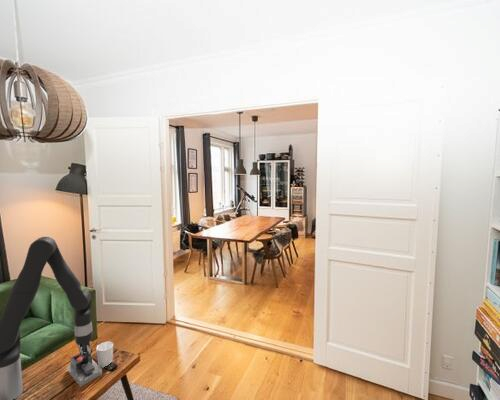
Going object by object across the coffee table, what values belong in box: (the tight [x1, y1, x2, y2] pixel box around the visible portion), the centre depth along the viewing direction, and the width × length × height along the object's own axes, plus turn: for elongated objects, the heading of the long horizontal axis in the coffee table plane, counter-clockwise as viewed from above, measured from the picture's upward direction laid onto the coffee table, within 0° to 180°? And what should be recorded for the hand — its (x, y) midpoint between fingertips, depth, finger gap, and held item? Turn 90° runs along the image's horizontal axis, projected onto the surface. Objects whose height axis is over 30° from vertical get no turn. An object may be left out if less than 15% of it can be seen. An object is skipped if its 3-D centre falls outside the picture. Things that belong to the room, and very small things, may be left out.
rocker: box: [81, 362, 95, 374], centre depth 132 cm, size 4×7×2 cm, turn 53°
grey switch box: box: [67, 352, 103, 388], centre depth 135 cm, size 10×16×7 cm, turn 53°
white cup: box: [96, 340, 114, 369], centre depth 141 cm, size 8×8×10 cm
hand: (85, 363), depth 134 cm, fingers closed
